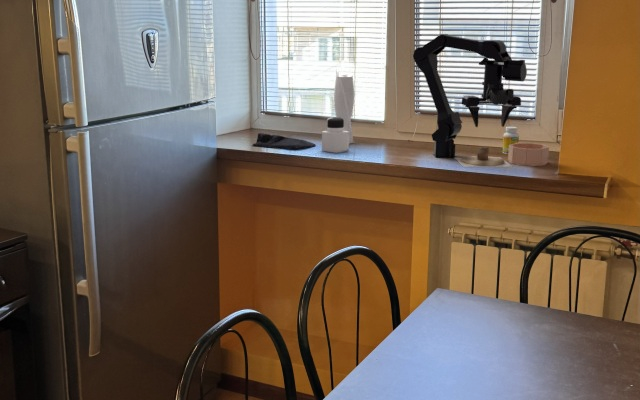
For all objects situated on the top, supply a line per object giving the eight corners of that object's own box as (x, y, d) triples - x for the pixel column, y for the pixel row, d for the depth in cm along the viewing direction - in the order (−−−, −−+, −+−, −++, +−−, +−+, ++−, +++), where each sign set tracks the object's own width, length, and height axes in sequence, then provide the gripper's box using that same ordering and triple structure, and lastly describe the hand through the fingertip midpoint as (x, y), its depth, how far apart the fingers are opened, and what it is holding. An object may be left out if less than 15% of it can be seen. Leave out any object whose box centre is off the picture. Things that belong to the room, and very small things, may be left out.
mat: (463, 168, 247) (463, 166, 247) (453, 158, 262) (453, 157, 262) (512, 168, 247) (512, 166, 247) (499, 158, 263) (499, 157, 263)
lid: (466, 166, 248) (467, 151, 247) (457, 158, 261) (458, 144, 260) (508, 166, 248) (509, 151, 247) (497, 158, 262) (498, 144, 261)
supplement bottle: (509, 152, 275) (511, 125, 273) (520, 154, 271) (522, 127, 269) (499, 153, 273) (500, 126, 270) (510, 155, 268) (512, 128, 266)
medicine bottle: (349, 150, 278) (349, 117, 275) (336, 153, 273) (336, 119, 270) (334, 148, 283) (334, 116, 280) (321, 150, 277) (321, 117, 275)
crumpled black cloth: (294, 153, 276) (294, 140, 274) (248, 146, 288) (248, 134, 287) (319, 147, 288) (319, 134, 286) (274, 141, 300) (274, 129, 299)
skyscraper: (329, 142, 294) (329, 69, 287) (341, 140, 300) (342, 68, 293) (345, 145, 289) (345, 70, 282) (357, 142, 294) (358, 69, 288)
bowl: (514, 167, 248) (516, 149, 247) (505, 160, 260) (506, 143, 259) (551, 167, 249) (552, 149, 247) (539, 160, 260) (541, 142, 259)
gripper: (475, 82, 240) (472, 131, 244) (530, 81, 244) (526, 130, 248) (462, 78, 251) (459, 125, 255) (515, 78, 254) (512, 125, 258)
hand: (489, 126), depth 254 cm, fingers open, 9 cm apart
